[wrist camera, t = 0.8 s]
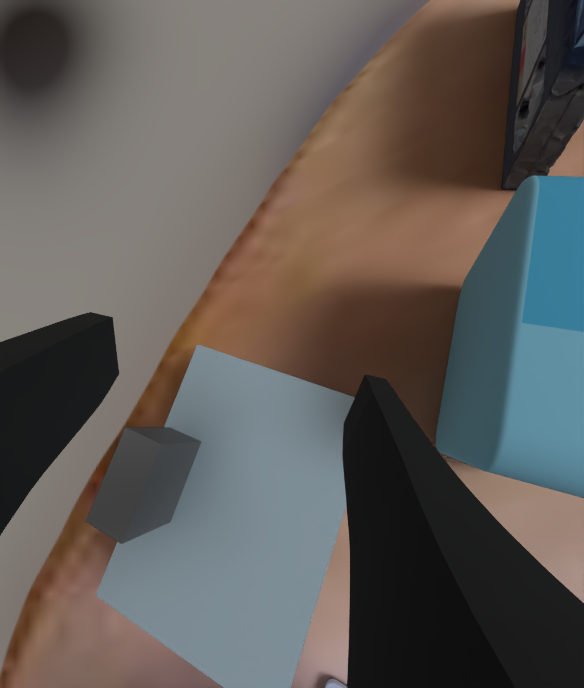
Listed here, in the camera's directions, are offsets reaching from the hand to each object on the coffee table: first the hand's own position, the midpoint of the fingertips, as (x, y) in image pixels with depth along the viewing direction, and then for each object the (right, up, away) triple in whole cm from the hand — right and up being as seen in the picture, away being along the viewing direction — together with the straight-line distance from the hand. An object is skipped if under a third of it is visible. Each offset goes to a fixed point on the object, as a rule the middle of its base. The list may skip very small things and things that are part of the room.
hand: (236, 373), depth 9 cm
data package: (+15, -1, +13) cm, 19 cm away
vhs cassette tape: (+20, +21, +17) cm, 34 cm away
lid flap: (-2, -9, +10) cm, 14 cm away
